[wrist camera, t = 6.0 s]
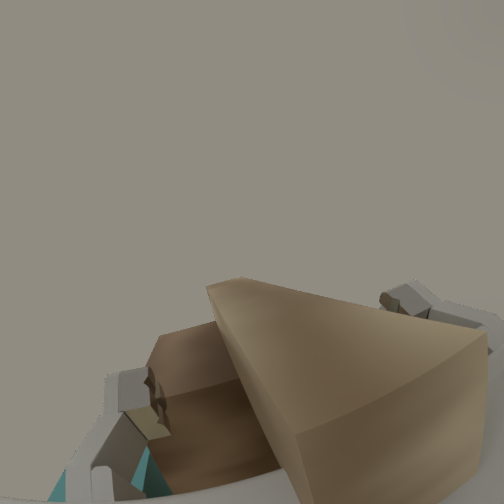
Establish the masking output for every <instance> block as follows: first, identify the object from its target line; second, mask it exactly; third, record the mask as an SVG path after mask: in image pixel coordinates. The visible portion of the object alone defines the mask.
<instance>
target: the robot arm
mask: <svg viewBox="0 0 504 504" xmlns="http://www.w3.org/2000/svg"><path fill="white" fill-rule="evenodd" d="M379 301H380V303H381V304H382V306H381V307H380V309H381V310H385V311H390V312H394V313H399V314H404V315H408V316H413V317H418V318H423V319H428V320H432V321H437V322H442V323H447V324H452V325H457V326H462V327H467V328H473V329H478V330H483V331H487V339H488V381H487V401H486V414H485V424H484V432H483V440H482V447H481V453H480V459H479V465H478V470H477V474H476V475H474V476H473V477H472V478H471V479H470V480H468V481H467V482H466V483H465V484H464V485H462V486H461V487H460V488H458V489H457V490H456V491H455V492H453V493H452V494H451V495H449V496H448V497H447V498H445V499H444V500H442V501H441V502H440V503H438V504H504V321H503V320H502V319H501V318H500V317H498V316H497V315H496V314H493V313H490V312H486V311H483V310H479V309H475V308H472V307H468V306H464V305H461V304H457V303H453V302H450V301H446V300H445V301H441V300H440V299H439V298H438V297H437V296H436V295H434V294H433V293H432V292H431V291H430V290H429V289H427V288H426V287H425V286H423V284H421V283H420V282H419V281H417V280H414V279H413V280H411V281H409V282H406V283H404V284H402V285H399V286H397V287H395V288H392V289H390V290H387V291H385V292H382V294H381V296H380V300H379ZM104 383H105V384H104V409H103V415H101V416H99V417H98V419H97V420H96V422H95V423H94V425H93V426H92V428H91V429H90V431H89V432H88V434H87V436H86V437H85V438H84V440H83V441H82V443H81V445H80V446H79V447H78V449H77V451H76V452H75V454H74V455H73V457H72V458H71V460H70V462H69V463H68V464H67V466H66V482H65V489H66V502H49V501H34V500H25V499H16V498H9V497H2V496H0V504H300V501H299V499H298V497H297V495H296V493H295V490H294V488H293V486H292V484H291V482H290V480H289V478H288V475H287V473H286V471H285V469H284V468H281V469H278V470H275V471H272V472H268V473H265V474H262V475H259V476H255V477H252V478H248V479H245V480H241V481H237V482H233V483H230V484H226V485H221V486H217V487H213V488H208V489H203V490H198V491H193V492H188V493H182V494H176V495H170V496H163V497H156V498H148V499H146V494H144V493H143V492H142V491H140V490H139V489H138V488H136V487H135V486H133V485H132V484H131V481H132V479H133V476H134V474H135V472H136V469H137V467H138V464H139V462H140V460H141V457H142V455H143V453H144V450H145V448H146V446H147V443H148V441H147V440H152V439H157V438H161V437H166V436H170V435H172V434H171V428H170V422H169V418H168V416H167V415H166V413H165V411H166V409H167V402H166V398H165V394H164V391H163V389H162V386H161V385H160V383H159V381H156V380H155V376H154V372H153V370H152V369H151V367H149V366H148V367H143V368H138V369H133V370H128V371H122V372H118V373H113V374H107V375H106V377H105V382H104Z"/></svg>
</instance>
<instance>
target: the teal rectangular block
mask: <svg viewBox="0 0 504 504" xmlns="http://www.w3.org/2000/svg"><path fill="white" fill-rule="evenodd" d="M76 451H77V450H76ZM76 451H75V452H76ZM74 454H75V453H74ZM72 457H73V456H72ZM65 482H66V469H65V470H64V472H63V474H62V476H61V477H60V479H59V481H58V483H57V485H56V486H55V488H54V490H53V492H52V494H51V495H50V497H49V499H48V501H49V502H66V489H65ZM131 484H132V485H133V486H135V487H136V488H138V489H139V490H140V491H142V492H143V493H144V494H146V499H148V498H156V497H163V496H170V495H173V493H172V491H171V489H170V488H169V486H168V484H167V483H166V481H165V479H164V477H163V475H162V474H161V472H160V470H159V468H158V466H157V464H156V462H155V461H154V459H153V457H152V455H151V453H150V451H149V449H148V447H147V446H146V448H145V450H144V453H143V455H142V457H141V460H140V462H139V464H138V467H137V469H136V472H135V474H134V476H133V479H132V481H131Z"/></svg>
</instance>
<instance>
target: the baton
mask: <svg viewBox="0 0 504 504" xmlns="http://www.w3.org/2000/svg"><path fill="white" fill-rule="evenodd" d="M206 289H207V292H208V296H209V299H210V303H211V306H212V310H213V313H214V317H215V320H216V323H217V325H218V328H219V330H220V333H221V335H222V338H223V340H224V343H225V345H226V347H227V350H228V352H229V355H230V357H231V359H232V362H233V364H234V366H235V369H236V371H237V373H238V376H239V378H240V380H241V383H242V385H243V387H244V390H245V392H246V394H247V396H248V399H249V401H250V403H251V405H252V407H253V410H254V412H255V414H256V416H257V418H258V421H259V423H260V425H261V427H262V429H263V431H264V434H265V436H266V438H267V440H268V442H269V444H270V446H271V448H272V450H273V453H274V455H275V457H276V459H277V461H278V463H279V465H280V467H281V468H284V469H285V471H286V473H287V475H288V478H289V480H290V482H291V484H292V486H293V488H294V490H295V493H296V495H297V497H298V499H299V501H300V504H438V503H440V502H441V501H442V500H444V499H445V498H447V497H448V496H449V495H451V494H452V493H453V492H455V491H456V490H457V489H458V488H460V487H461V486H462V485H464V484H465V483H466V482H467V481H468V480H470V479H471V478H472V477H473V476H474V475H476V474H477V470H478V465H479V459H480V453H481V447H482V440H483V432H484V424H485V414H486V401H487V381H488V339H487V331H483V330H478V329H473V328H467V327H462V326H457V325H452V324H447V323H442V322H437V321H432V320H428V319H423V318H418V317H413V316H408V315H404V314H399V313H394V312H390V311H385V310H381V309H376V308H371V307H367V306H362V305H357V304H353V303H349V302H344V301H340V300H335V299H331V298H327V297H323V296H318V295H314V294H310V293H306V292H301V291H297V290H293V289H289V288H284V287H280V286H276V285H272V284H267V283H264V282H260V281H256V280H252V279H248V278H243V277H238V278H234V279H231V280H227V281H224V282H220V283H216V284H213V285H209V286H206Z"/></svg>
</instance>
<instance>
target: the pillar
mask: <svg viewBox="0 0 504 504" xmlns="http://www.w3.org/2000/svg"><path fill="white" fill-rule="evenodd" d="M148 366H149V367H151V369H152V370H153V372H154V376H155V380H156V381H159V383H160V385H161V386H162V389H163V391H164V394H165V398H166V402H167V409H166V411H165V413H166V415H167V416H168V418H169V422H170V428H171V434H172V435H170V436H166V437H161V438H157V439H152V440H147V441H148V443H147V447H148V449H149V451H150V453H151V455H152V457H153V459H154V461H155V462H156V464H157V466H158V468H159V470H160V472H161V474H162V475H163V477H164V479H165V481H166V483H167V484H168V486H169V488H170V489H171V491H172V493H173V495H176V494H182V493H188V492H193V491H198V490H203V489H208V488H213V487H217V486H221V485H226V484H230V483H233V482H237V481H241V480H245V479H248V478H252V477H255V476H259V475H262V474H265V473H268V472H272V471H275V470H278V469H281V467H280V465H279V463H278V461H277V459H276V457H275V455H274V453H273V450H272V448H271V446H270V444H269V442H268V440H267V438H266V436H265V434H264V431H263V429H262V427H261V425H260V423H259V421H258V418H257V416H256V414H255V412H254V410H253V407H252V405H251V403H250V401H249V399H248V396H247V394H246V392H245V390H244V387H243V385H242V383H241V380H240V378H239V376H238V373H237V371H236V369H235V366H234V364H233V362H232V359H231V357H230V355H229V352H228V350H227V347H226V345H225V343H224V340H223V338H222V335H221V333H220V330H219V328H218V325H217V323H216V321H213V322H210V323H206V324H203V325H199V326H196V327H192V328H188V329H184V330H180V331H177V332H173V333H169V334H165V335H161V336H159V338H158V340H157V343H156V345H155V347H154V349H153V351H152V353H151V355H150V358H149V360H148V362H147V364H146V366H145V367H148Z"/></svg>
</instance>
